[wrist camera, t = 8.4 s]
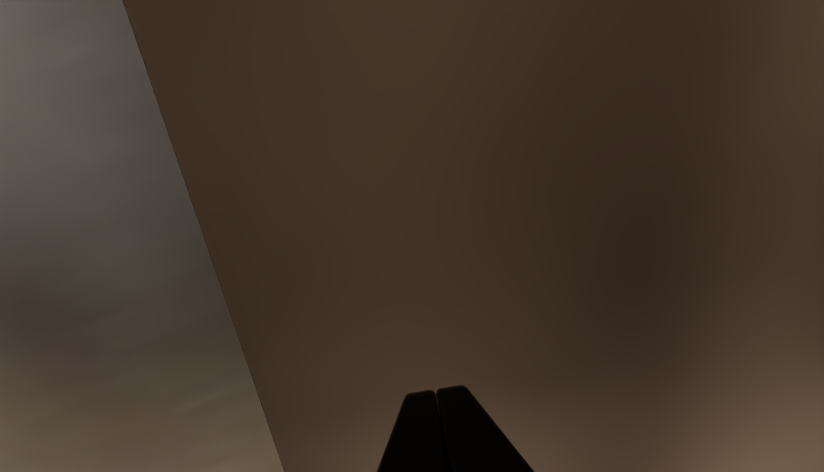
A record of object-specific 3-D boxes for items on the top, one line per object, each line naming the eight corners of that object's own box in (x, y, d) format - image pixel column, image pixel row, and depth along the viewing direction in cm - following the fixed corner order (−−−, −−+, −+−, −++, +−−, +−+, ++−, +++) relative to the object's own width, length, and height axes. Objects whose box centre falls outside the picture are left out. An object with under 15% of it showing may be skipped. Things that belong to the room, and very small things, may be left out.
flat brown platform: (334, 509, 16) (333, 612, 14) (79, -351, 8) (-18, -408, 6) (783, 442, 16) (847, 536, 14) (1025, -486, 8) (1275, -594, 6)
